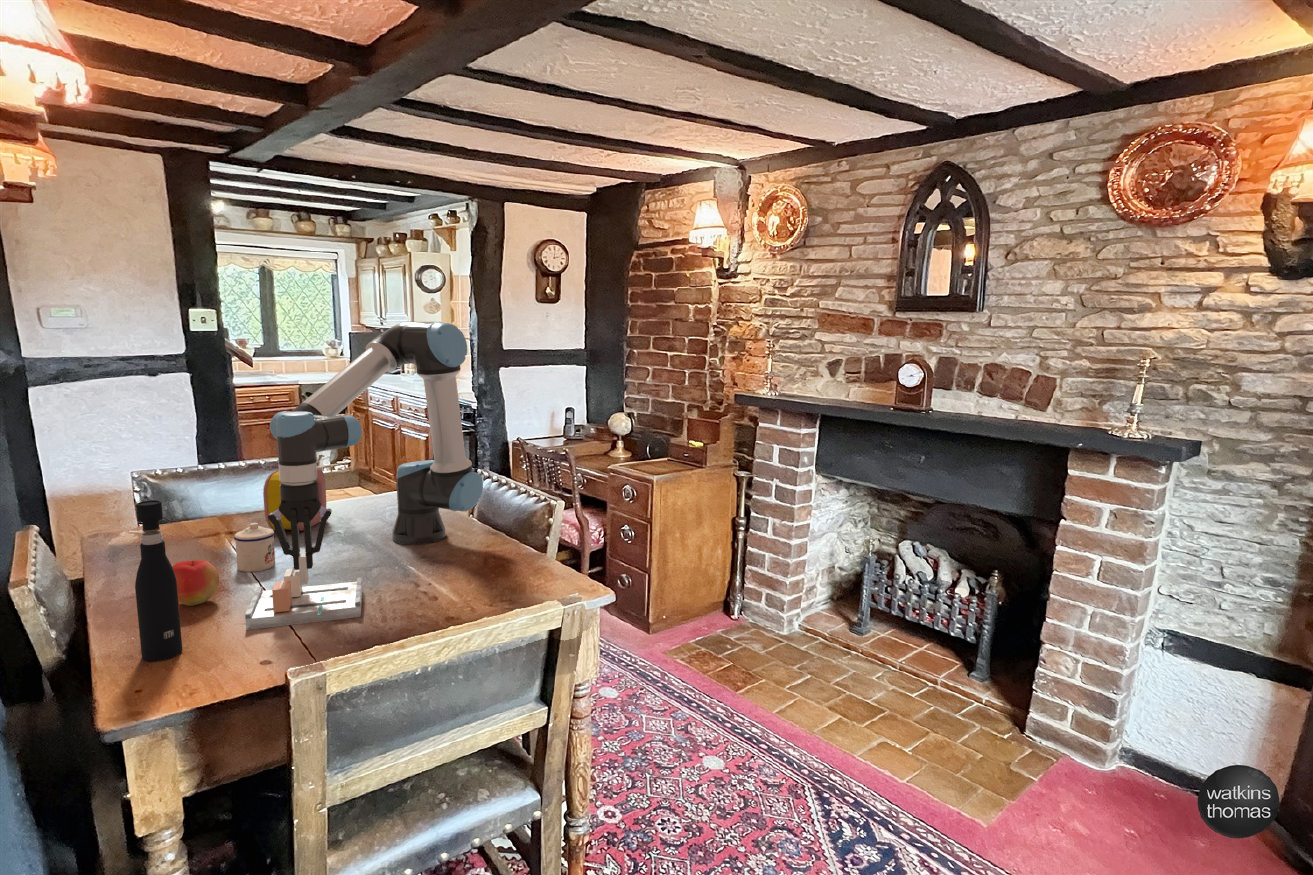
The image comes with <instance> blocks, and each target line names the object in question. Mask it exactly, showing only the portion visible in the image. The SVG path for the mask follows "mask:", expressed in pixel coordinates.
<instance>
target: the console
mask: <svg viewBox="0 0 1313 875" xmlns="http://www.w3.org/2000/svg"><path fill="white" fill-rule="evenodd" d="M362 599H363V577H357V578H356V581H352V582H351V581H350V582H348V581H347V582H341V583H340V582H339V583H332V584H331V583H330V584H329V583H328V584H319V585H310V586H309V585H308V586H302V592H301V595H300V596H299V597H292V604H291V607H290V610H289V611H283V612H273V596H272V589H268V590H263V586H258V587H256V589H255V592H254V594H253V597H252V599H251V601H250V604H249V606H248V607H247V609H246V612H245V614H244V616H245V617H244V618H245V630H246V631H249V630H252V631H253V630H258V629H260V630H261V629H267V628H276V627H277V628H278V627H284V626H292V625H293V626H294V625H301V624H310V623H319V622H328V621H329V622H330V621H337V620H344V619H352V618H353V619H354V618H360V617H361V616H362V615H361V614H362V602H363V600H362Z"/></svg>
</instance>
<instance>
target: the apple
mask: <svg viewBox="0 0 1313 875" xmlns="http://www.w3.org/2000/svg"><path fill="white" fill-rule="evenodd" d="M172 567H173V570H174V573H175V576H176V580H177V592H178V603H180V604H182V605H185V606H189V607H191V606H197V605H200V604H204V603H206V602H207V601H208V600H209V599H211V597H213V596H214V594H215V593H216V591H217V589H218V587H219V585H220V574H219V572H218V570H217V569H216V567H215V566H214V565H213V564H212V563H210V562H209V561H208V560H203V559H193V560H183V561H177V562H175V564H173V565H172Z"/></svg>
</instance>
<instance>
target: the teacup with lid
mask: <svg viewBox="0 0 1313 875" xmlns="http://www.w3.org/2000/svg"><path fill="white" fill-rule="evenodd" d="M274 536H275V530H274V529H272V528H270V527H264V526H261V525H259V523H258V522H251V523H249V526H247V527H245V528H244V529H243V530H240V531H238V532H236V533H235V534H234V537H233V539H234V540H235V542H234V543H235V552H236V568H237V570H238V571H240V572H245V573H253V572H255V573H256V572H261V571H265V570H269V569H271V568H272V567H274V566H275V565H276V554H275V553H276V552H275V538H274Z"/></svg>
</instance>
